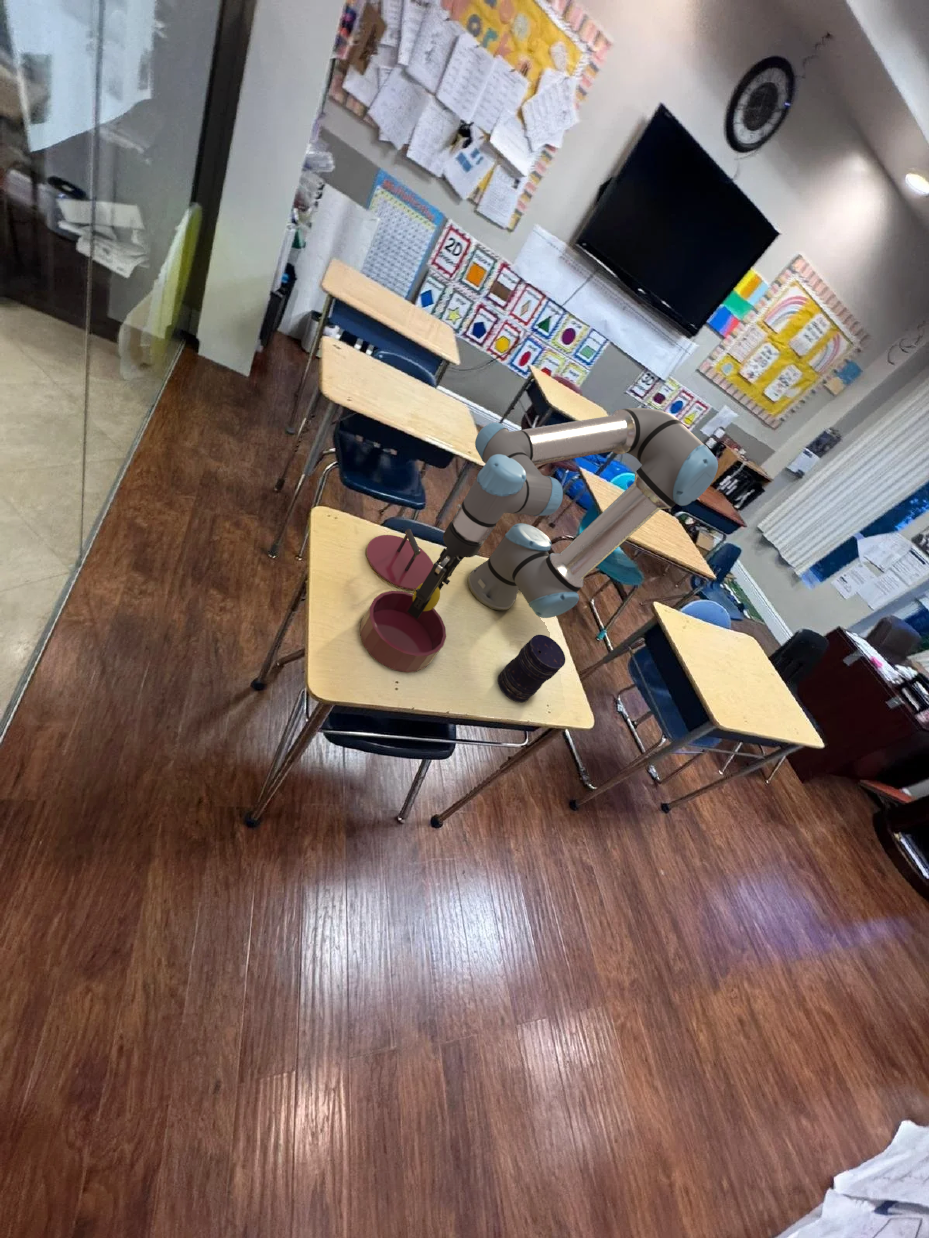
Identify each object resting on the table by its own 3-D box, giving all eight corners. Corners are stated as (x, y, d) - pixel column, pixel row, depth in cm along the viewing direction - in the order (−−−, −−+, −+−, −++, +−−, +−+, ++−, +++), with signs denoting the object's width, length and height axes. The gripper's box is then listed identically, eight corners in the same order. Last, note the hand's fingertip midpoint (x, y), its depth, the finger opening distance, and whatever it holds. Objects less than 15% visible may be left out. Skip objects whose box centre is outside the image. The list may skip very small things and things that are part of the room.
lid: (420, 541, 149) (433, 518, 143) (443, 593, 139) (458, 570, 133) (357, 534, 137) (369, 508, 132) (377, 589, 127) (391, 564, 122)
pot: (419, 609, 130) (430, 592, 126) (444, 670, 121) (457, 654, 117) (351, 607, 119) (360, 589, 115) (372, 674, 110) (383, 657, 106)
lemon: (427, 622, 112) (442, 598, 107) (404, 610, 111) (419, 586, 106) (432, 606, 116) (448, 583, 111) (411, 595, 115) (425, 570, 110)
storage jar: (519, 667, 134) (552, 633, 125) (537, 699, 130) (572, 666, 120) (490, 671, 128) (523, 635, 119) (508, 705, 123) (543, 670, 114)
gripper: (471, 502, 105) (425, 578, 120) (431, 536, 91) (384, 618, 106) (500, 524, 105) (450, 597, 120) (465, 562, 91) (413, 640, 106)
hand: (419, 607), depth 113 cm, fingers closed on lemon, 5 cm apart
